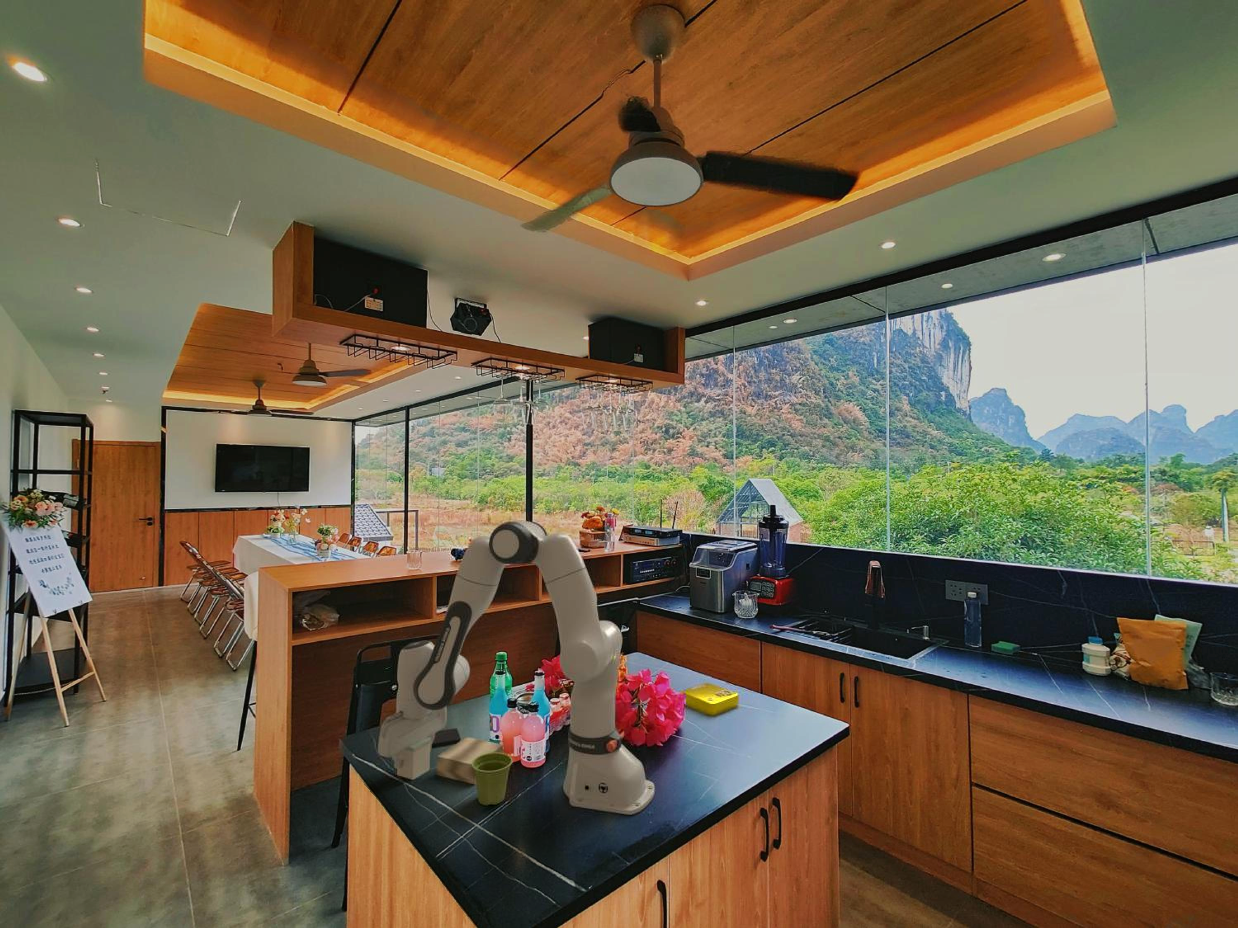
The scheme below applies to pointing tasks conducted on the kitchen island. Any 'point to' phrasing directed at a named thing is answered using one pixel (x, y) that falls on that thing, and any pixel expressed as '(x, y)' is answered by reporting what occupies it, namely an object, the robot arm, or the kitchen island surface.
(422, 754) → the cream tea tin
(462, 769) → the oak block
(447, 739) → the smart home device
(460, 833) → the kitchen island surface
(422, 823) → the kitchen island surface
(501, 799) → the plant pot
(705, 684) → the element tile
